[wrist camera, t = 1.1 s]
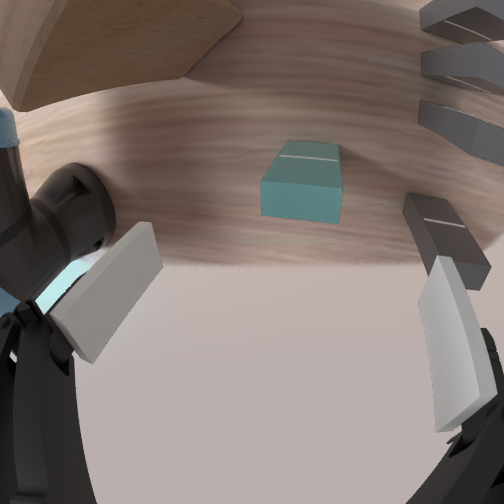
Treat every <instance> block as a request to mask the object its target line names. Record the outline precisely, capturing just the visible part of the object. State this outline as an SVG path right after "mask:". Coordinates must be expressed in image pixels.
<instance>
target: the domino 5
mask: <svg viewBox="0 0 504 504" xmlns="http://www.w3.org/2000/svg"><path fill="white" fill-rule="evenodd" d="M403 214H404V216H405V218H406V221H407V223H408V225H409V227H410V230H411V232H412V235H413V237H414V240H415V242H416V245H417V247H418V250H419V252H420V255H421V258H422V260H423V263H424V266H425V268H426V271H427V274H428V277H429V275H430V272H431V270H432V267H433V265H434V262H435V259H436V257H437V255H439V256H446V257H451V258H452V260H453V262H454V264H455V266H456V269H457V271H458V273H459V275H460V277H461V280H462V282H463V284H464V287H465V289H469V290H478V291H480V289H481V287H482V285H483V283H484V281H485V279H486V277H487V275H488V273H489V271H490V269H491V265H490V264H489V262H488V260H487V258H486V257H485V255H484V253H483V252H482V250H481V249H480V247H479V245H478V244H477V242H476V241H475V239H474V238H473V236H472V235H471V233H470V232H469V230H468V229H467V227H466V226H465V224H464V223H463V222H462V220H461V219H460V217H459V216H458V215H457V213H456V212H455V211H454V209H453V208H452V207H451V205H450V204H449V203H448V201H447V200H444V199H440V198H435V197H430V196H424V195H419V194H414V193H408V192H407V196H406V201H405V205H404V210H403Z"/></svg>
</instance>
